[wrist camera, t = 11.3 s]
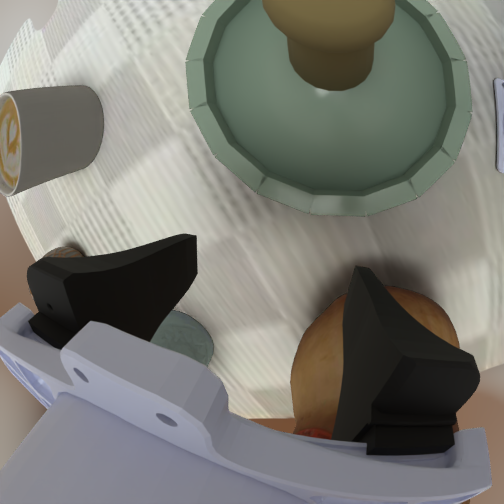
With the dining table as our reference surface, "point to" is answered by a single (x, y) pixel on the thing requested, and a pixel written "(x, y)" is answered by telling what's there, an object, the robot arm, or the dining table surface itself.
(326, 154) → the round tray
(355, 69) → the olive brown knobbed peg
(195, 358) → the teal tapered cup
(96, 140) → the coffee mug
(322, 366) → the butternut squash
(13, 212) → the dining table surface
